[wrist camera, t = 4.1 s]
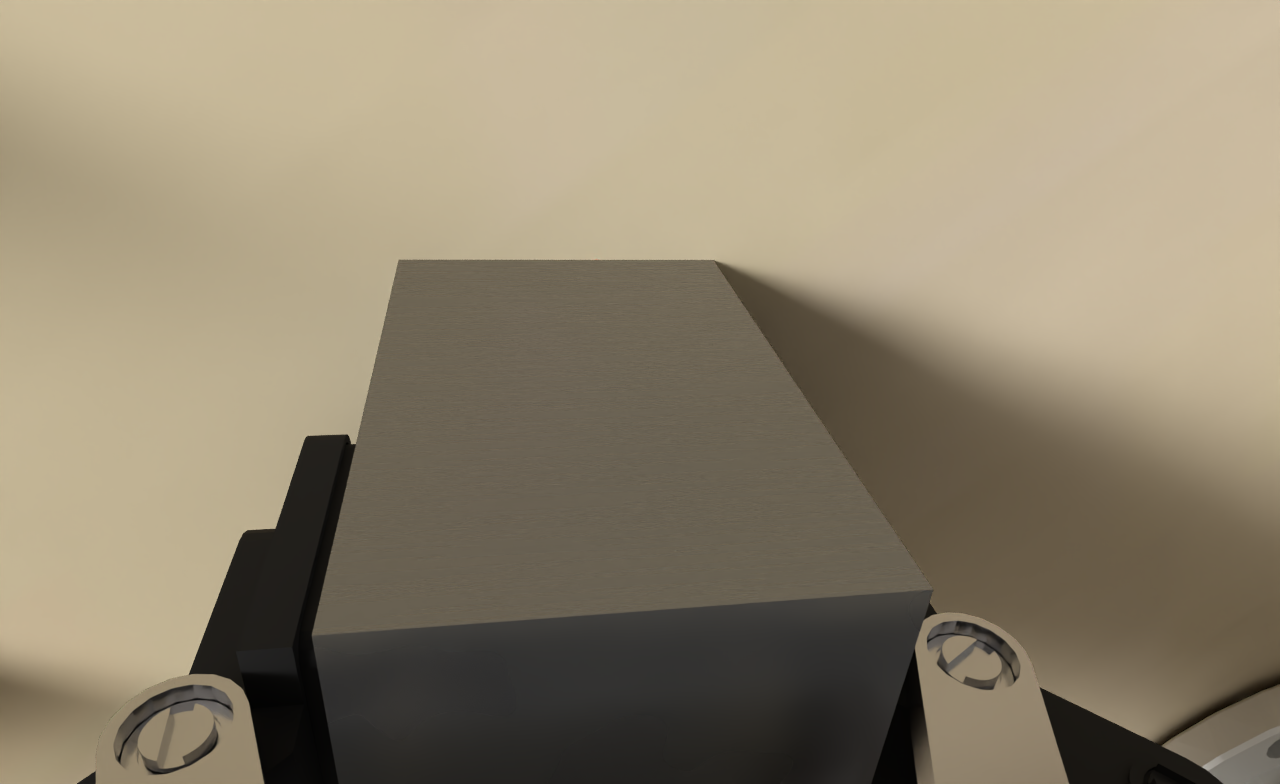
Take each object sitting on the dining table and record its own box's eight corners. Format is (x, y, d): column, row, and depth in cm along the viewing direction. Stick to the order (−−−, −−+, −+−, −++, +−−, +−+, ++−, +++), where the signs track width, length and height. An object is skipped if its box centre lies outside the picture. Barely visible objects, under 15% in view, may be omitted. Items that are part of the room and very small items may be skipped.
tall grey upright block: (712, 259, 12) (933, 589, 6) (673, 607, 16) (790, 1033, 10) (398, 258, 11) (311, 636, 6) (429, 624, 15) (396, 1100, 9)
